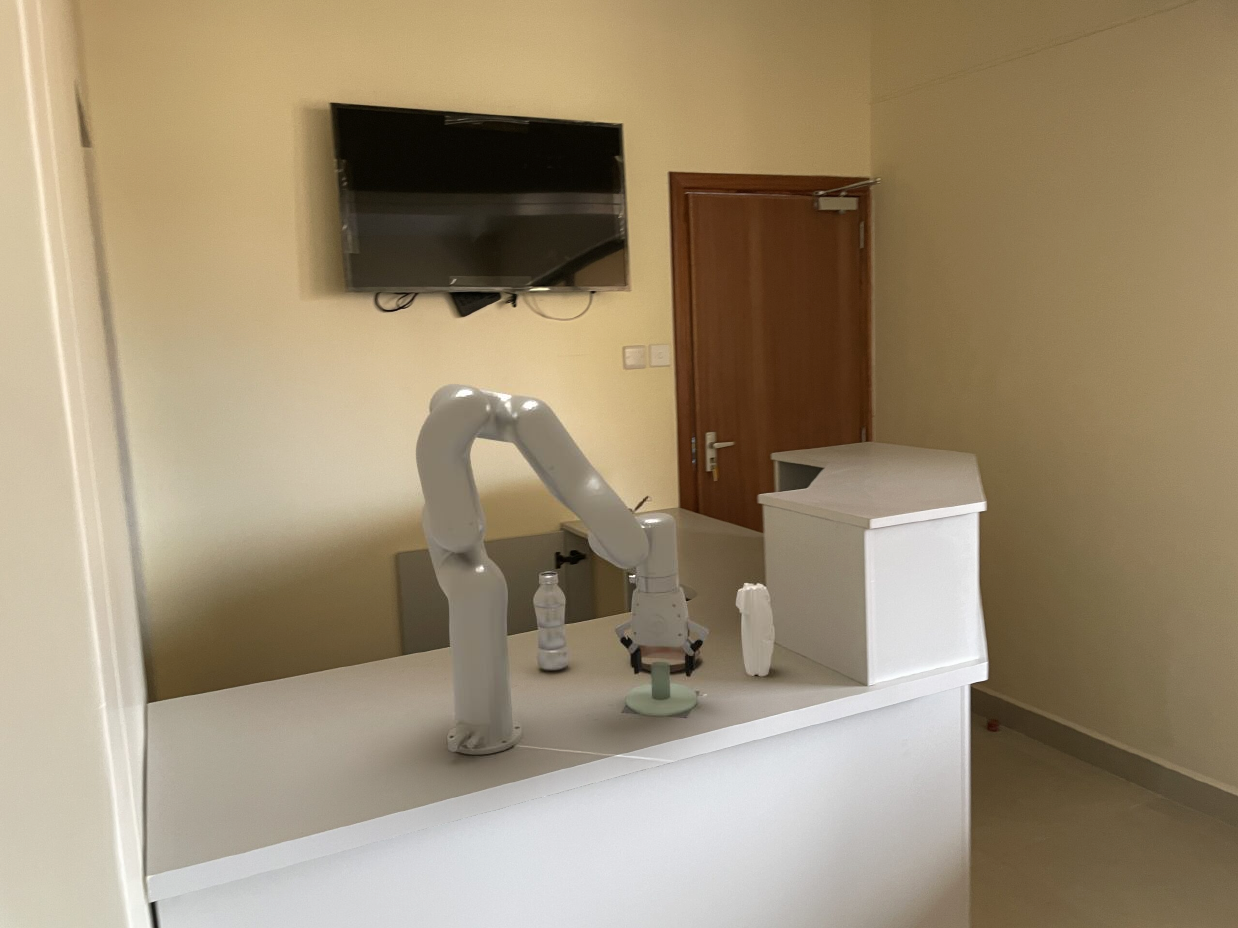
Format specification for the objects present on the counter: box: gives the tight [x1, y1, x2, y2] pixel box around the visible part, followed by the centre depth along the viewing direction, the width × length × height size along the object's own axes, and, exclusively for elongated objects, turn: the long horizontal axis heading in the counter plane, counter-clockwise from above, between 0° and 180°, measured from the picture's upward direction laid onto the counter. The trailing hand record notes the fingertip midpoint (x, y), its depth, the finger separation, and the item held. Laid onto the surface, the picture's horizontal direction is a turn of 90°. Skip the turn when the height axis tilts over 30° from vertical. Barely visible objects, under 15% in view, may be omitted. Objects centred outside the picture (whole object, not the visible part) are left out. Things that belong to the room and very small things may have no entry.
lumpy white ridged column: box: [735, 582, 776, 677], centre depth 172 cm, size 7×18×7 cm
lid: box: [625, 661, 698, 717], centre depth 161 cm, size 13×13×7 cm
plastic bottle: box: [533, 571, 570, 671], centre depth 179 cm, size 6×7×20 cm
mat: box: [620, 690, 701, 719], centre depth 161 cm, size 12×12×1 cm
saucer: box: [628, 645, 702, 673], centre depth 181 cm, size 15×15×3 cm
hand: (663, 672), depth 160 cm, fingers open, 9 cm apart
